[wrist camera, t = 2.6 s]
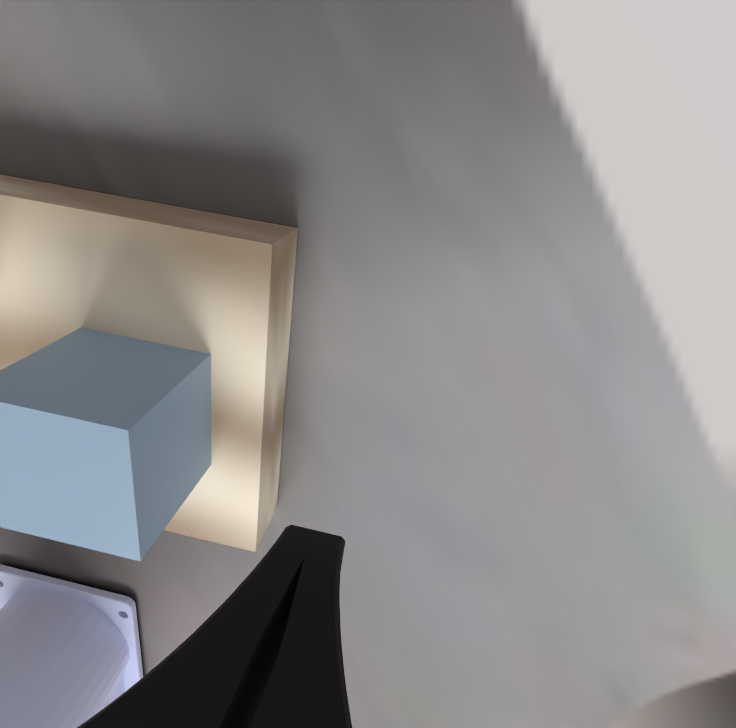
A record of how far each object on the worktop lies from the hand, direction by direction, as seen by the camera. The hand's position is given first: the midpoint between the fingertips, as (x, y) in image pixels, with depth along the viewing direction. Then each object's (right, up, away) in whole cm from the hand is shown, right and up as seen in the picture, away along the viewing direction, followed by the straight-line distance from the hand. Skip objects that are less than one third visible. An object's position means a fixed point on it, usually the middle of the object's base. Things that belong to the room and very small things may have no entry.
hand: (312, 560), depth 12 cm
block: (-6, +4, +5) cm, 9 cm away
